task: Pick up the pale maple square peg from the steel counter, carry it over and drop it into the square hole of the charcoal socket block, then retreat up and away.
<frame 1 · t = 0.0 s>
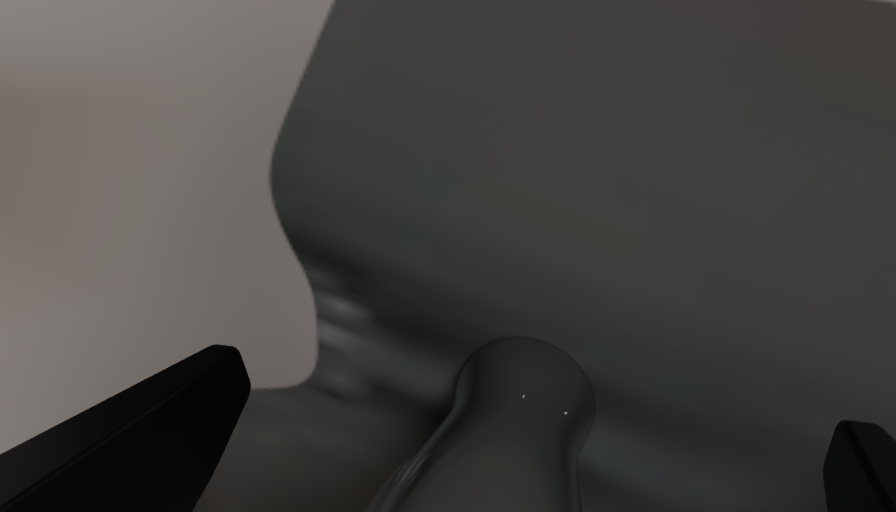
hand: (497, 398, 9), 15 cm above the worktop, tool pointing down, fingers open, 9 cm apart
beer glass: (525, 396, 27), on the worktop
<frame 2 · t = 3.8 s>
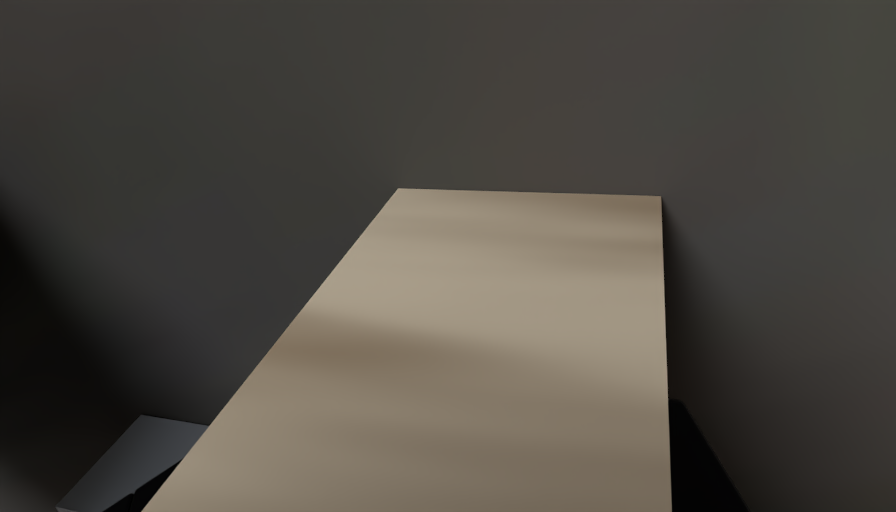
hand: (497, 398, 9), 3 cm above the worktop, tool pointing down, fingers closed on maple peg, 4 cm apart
maple peg: (525, 299, 11), on the worktop, touching gripper
when the fingers open (4 cm above the worktop, at t = 10.1 s): maple peg drops 2 cm, resting in socket block.
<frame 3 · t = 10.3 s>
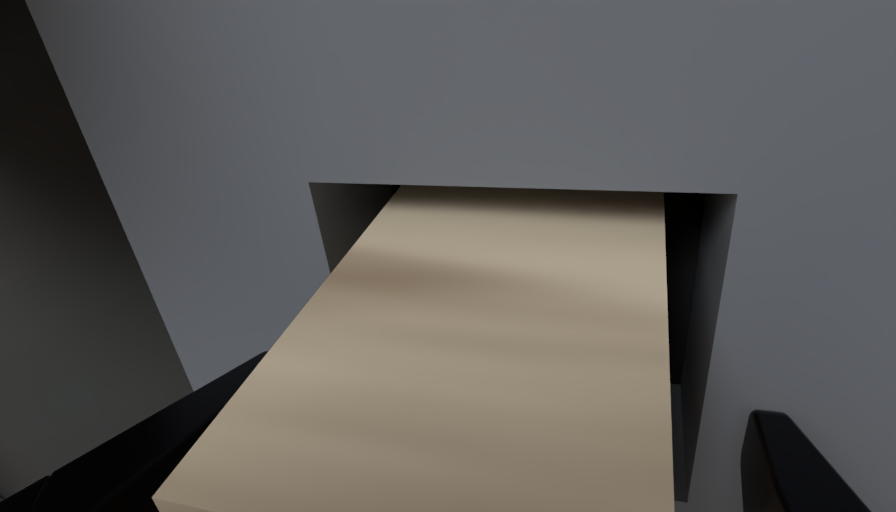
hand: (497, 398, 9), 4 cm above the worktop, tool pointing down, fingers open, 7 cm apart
maple peg: (538, 257, 12), resting in socket block
socket block: (538, 258, 12), on the worktop
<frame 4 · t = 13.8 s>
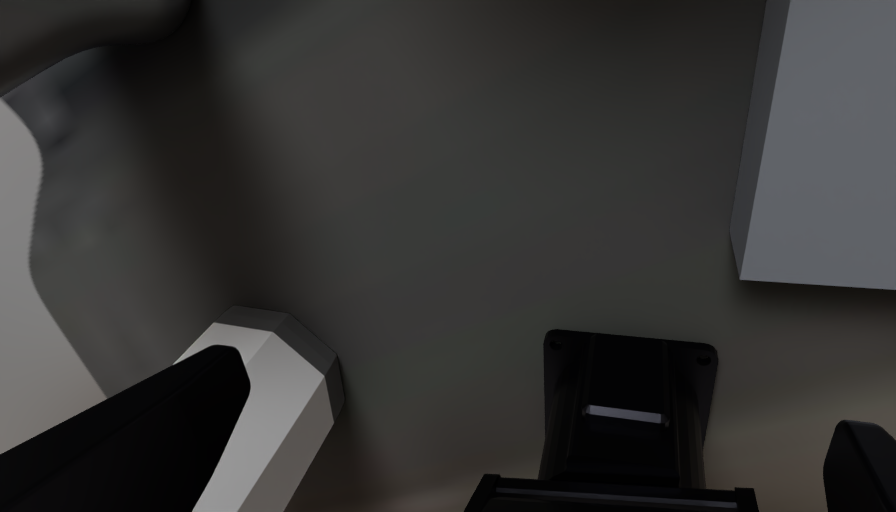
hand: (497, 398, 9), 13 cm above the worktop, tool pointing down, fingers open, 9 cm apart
wine bottle: (277, 363, 31), on the worktop
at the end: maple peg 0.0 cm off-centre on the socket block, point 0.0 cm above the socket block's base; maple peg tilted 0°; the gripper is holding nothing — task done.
